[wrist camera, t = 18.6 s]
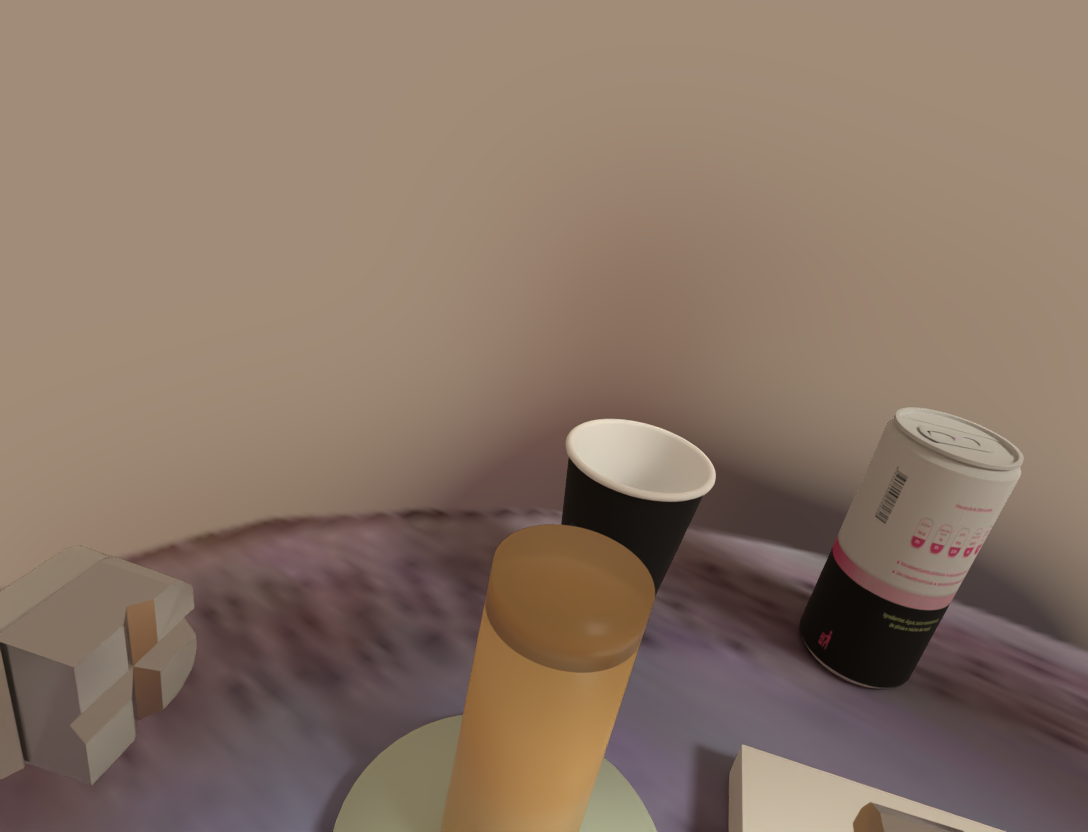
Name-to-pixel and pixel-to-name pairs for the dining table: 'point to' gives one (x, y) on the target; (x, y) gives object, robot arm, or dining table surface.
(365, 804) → the mat
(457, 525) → the dining table surface
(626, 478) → the dixie cup
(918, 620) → the beverage can
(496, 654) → the plug
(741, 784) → the socket block
